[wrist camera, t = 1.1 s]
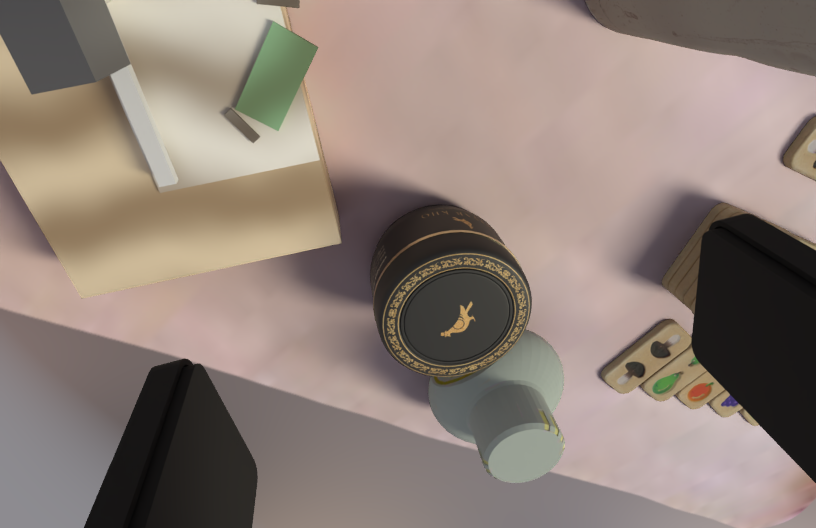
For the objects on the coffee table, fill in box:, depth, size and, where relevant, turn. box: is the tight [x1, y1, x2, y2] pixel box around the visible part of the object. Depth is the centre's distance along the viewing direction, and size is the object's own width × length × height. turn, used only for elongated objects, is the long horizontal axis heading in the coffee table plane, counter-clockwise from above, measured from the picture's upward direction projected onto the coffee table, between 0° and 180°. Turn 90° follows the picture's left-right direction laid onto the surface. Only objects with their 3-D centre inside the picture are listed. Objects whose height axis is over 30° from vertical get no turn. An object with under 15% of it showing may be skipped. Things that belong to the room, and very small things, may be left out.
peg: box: [0, 0, 179, 187], centre depth 22 cm, size 13×2×7 cm, turn 9°
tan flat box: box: [0, 0, 341, 299], centre depth 28 cm, size 22×17×4 cm
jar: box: [370, 205, 532, 377], centre depth 35 cm, size 10×10×8 cm
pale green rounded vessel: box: [428, 329, 565, 483], centre depth 40 cm, size 11×8×10 cm
